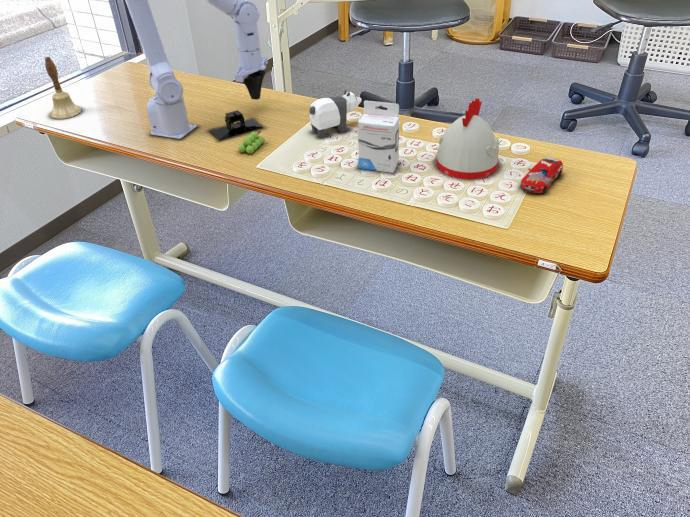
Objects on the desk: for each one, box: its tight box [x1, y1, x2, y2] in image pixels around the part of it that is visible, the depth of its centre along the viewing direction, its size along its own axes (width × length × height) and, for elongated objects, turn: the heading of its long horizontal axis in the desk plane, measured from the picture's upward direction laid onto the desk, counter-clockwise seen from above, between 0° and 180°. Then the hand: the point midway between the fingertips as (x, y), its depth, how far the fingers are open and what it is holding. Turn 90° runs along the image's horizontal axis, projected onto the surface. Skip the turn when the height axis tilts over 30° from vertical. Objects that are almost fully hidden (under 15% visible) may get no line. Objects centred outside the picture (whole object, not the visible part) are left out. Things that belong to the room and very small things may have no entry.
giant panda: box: [308, 89, 363, 139], centre depth 150 cm, size 15×6×10 cm, turn 119°
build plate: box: [208, 109, 264, 142], centre depth 153 cm, size 12×7×5 cm, turn 122°
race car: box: [520, 156, 564, 194], centre depth 127 cm, size 13×5×4 cm, turn 140°
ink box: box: [357, 100, 400, 174], centre depth 132 cm, size 8×5×15 cm, turn 72°
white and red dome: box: [435, 98, 500, 180], centre depth 131 cm, size 14×14×15 cm
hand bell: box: [44, 56, 82, 120], centre depth 163 cm, size 8×8×16 cm
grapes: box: [237, 130, 265, 155], centre depth 146 cm, size 4×9×3 cm, turn 159°
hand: (255, 98), depth 161 cm, fingers closed
